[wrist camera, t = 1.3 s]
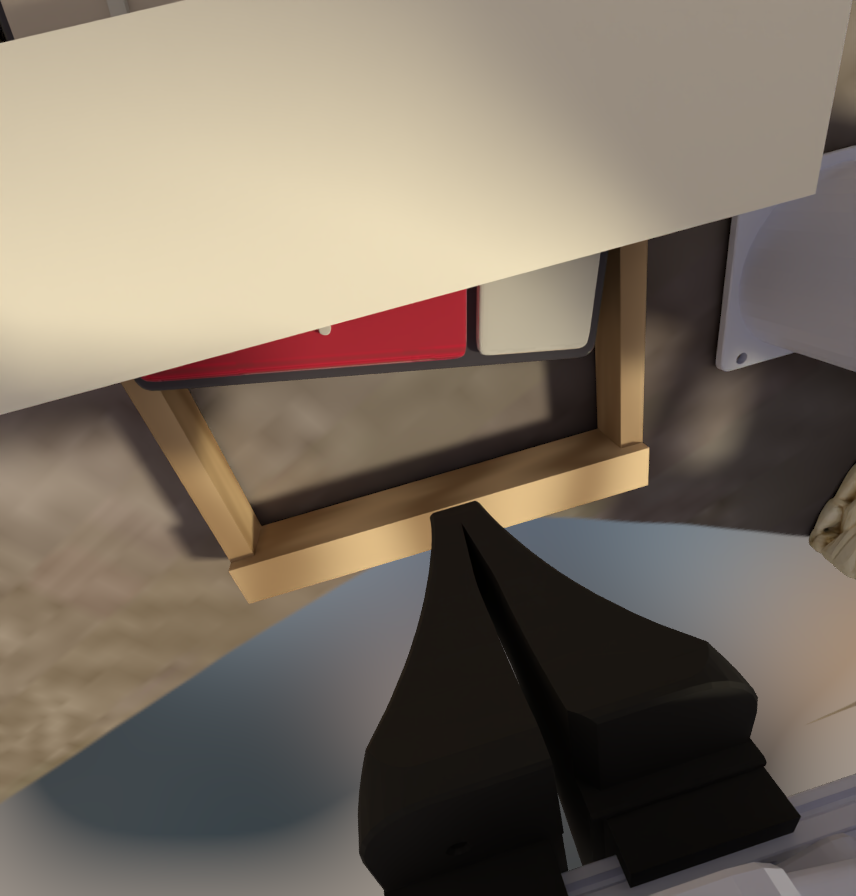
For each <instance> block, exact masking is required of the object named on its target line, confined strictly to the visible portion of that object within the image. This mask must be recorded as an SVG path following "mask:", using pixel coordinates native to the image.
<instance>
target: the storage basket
mask: <svg viewBox="0 0 856 896" xmlns="http://www.w3.org/2000/svg"><path fill="white" fill-rule="evenodd" d="M824 528H826V529H824ZM809 544H810V546H811V547H813V548H814V549H815V550H816V551H817V552H819V553H822V555H823V556H824V557H825V559H827V560H828V561H829V562H830V563H832V564H833V565H834V566H835V567H836V568H837V569H838V570H839V571H841V572H842V573H843V574H844V575H846V576H848V577H850V578H854V579H856V464H854V466H853V467H852V468H851V469H850V470H849V472H848V473H847V475H846V477H845V479H844V480H843V482H842V484H841V486H840V488H839V489H838V491H837V493H836V495H835V497H834V498H833V499H830V500H829V501H828V502H827V503H826V505H825V506H824V508H823V510H822V511H821V513H820V515H819V517H818V520H817V523H816V525H815V528H814V529H813V531H812V533H811V535H810V537H809Z"/></svg>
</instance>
